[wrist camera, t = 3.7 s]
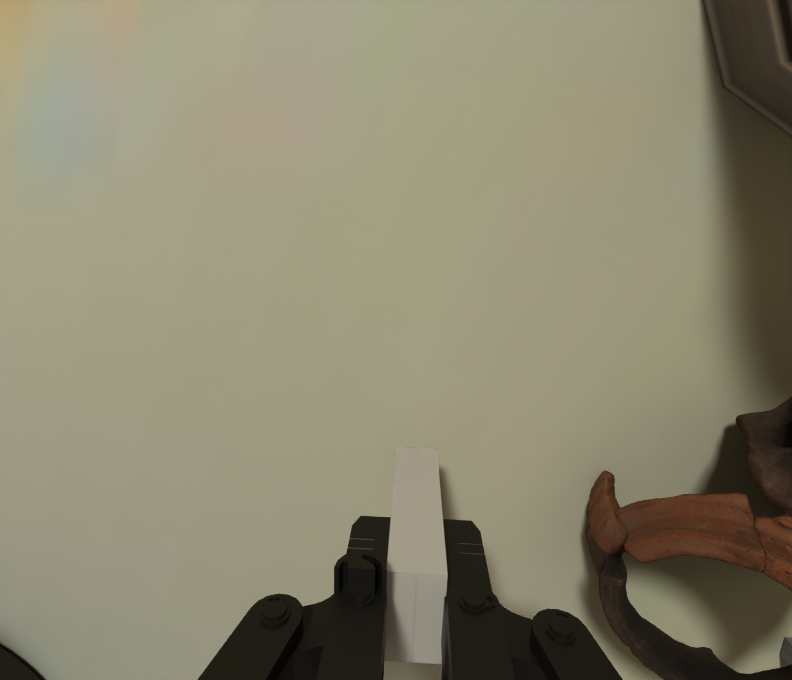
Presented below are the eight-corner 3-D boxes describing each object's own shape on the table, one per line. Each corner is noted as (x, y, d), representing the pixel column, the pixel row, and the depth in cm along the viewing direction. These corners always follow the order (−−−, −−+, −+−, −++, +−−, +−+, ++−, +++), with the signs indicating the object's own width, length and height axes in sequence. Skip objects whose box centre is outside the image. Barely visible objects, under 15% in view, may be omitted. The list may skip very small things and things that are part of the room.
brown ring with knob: (797, 593, 22) (828, 796, 16) (584, 498, 26) (539, 630, 19) (979, 370, 16) (1149, 552, 10) (667, 289, 20) (641, 381, 14)
